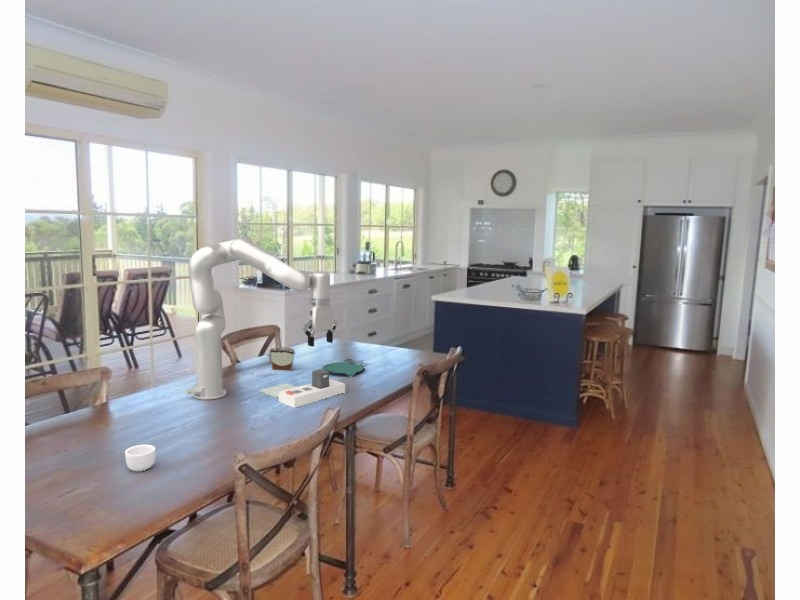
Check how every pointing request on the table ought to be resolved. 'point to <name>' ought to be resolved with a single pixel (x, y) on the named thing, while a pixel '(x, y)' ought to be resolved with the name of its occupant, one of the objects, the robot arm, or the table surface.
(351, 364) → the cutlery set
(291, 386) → the mat
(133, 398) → the table surface
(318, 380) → the block
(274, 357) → the food container
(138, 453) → the teacup
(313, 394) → the power strip
